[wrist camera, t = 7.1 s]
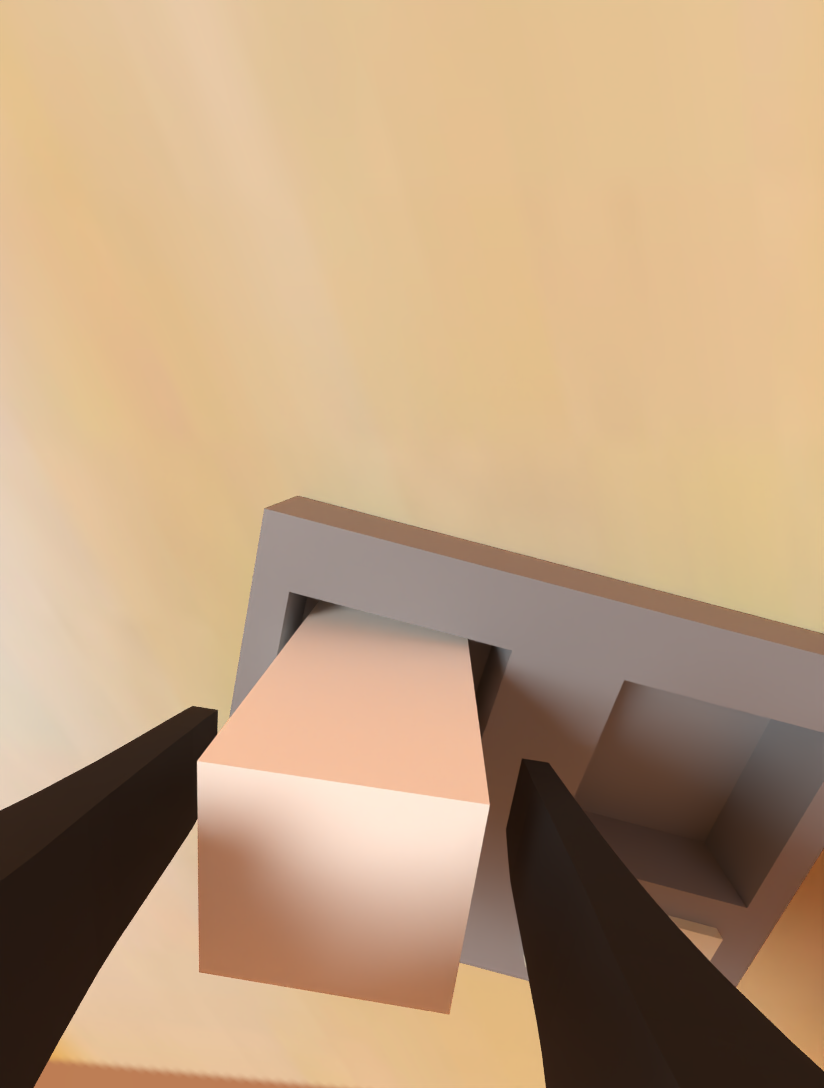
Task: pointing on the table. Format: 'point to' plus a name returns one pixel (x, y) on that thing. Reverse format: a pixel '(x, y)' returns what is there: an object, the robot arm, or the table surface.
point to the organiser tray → (590, 714)
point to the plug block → (346, 815)
